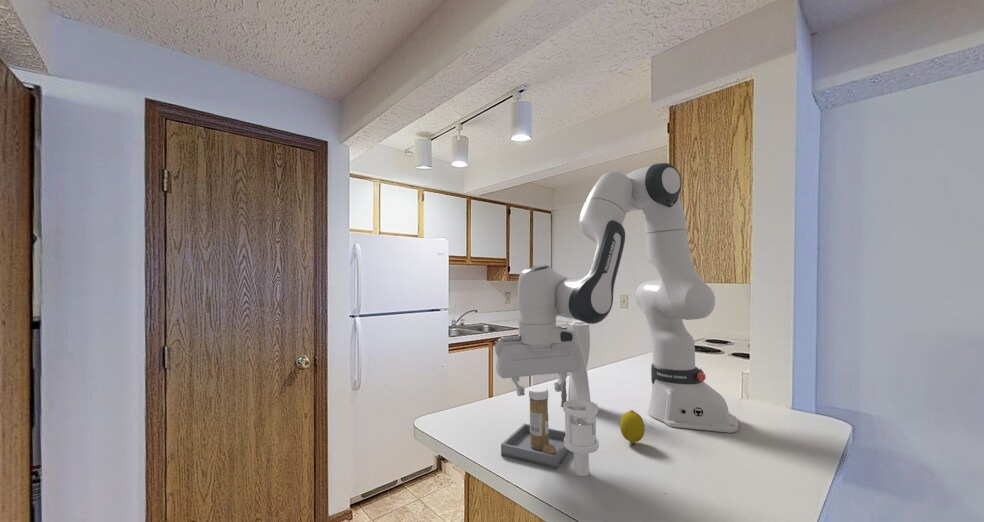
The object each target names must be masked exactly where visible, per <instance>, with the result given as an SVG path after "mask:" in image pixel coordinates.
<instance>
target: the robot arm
mask: <svg viewBox="0 0 984 522" xmlns="http://www.w3.org/2000/svg"><path fill="white" fill-rule="evenodd" d="M682 183H683V182H682V176H681V174H680V171H679V170H678V169H677V167H675V166H674V165H673V164H671V163H666V162H661V163H660V162H659V163H653V164H652V165H649V166H644V167H641V168H637V169H634V170H633V171H631V172H629V173H626V174H625V173H623V172H620V171H608V172H605V173H604V174H602V175H601V176H600V177H599V178H598V180H597V181H596V182H595V184H594V185H593V187H592V189H591V190H590V192H589V194H588V196H587V197H586V199H585V201H584V204H583V206H582V208H581V211H580V214H579V218H578V225H579V229H580V230H581V231H580V232H582V234H583V235H584V236H585V237H587V238H588V239H589V240H591V241H592V242H594V243H595V244H596V249H595V252H594V256H593V261H592V263H591V266H590V269H589V273H587V275H586V276H584V277H582V278H568V277H566V276H564V275H562V274H559V273H557V271H555V270H553V269H552V267H551V266H550V265H543V264H542V265H536V266H530V267H527V268H525V269H523V270H522V271H521V272H520V274H519V277H518V280H517V281H518V282H517V305H518V309H519V318H518V335H513V336H502V337H500V338H499V339H497V340H496V342H495V344H494V348H495V349H494V351H495V355H496V362H495V363H496V366H495V367H496V369H495V370H496V373H497V375H498V376H499V377H500V378H501V379H511V381H512V382H513V384H514V386H515V388H516V395H517V396H518V397H521V396H522V397H523V396H525V394H526V393H525V387H524V386H523V385H520V384H519V382H520V378H521V377H522V378H523V377H532V376H543V375H552V374H557V375H558V376H559V377H558V380H557V382H554V383H553V385H554V388H553V389H554V391H555V392H556V393H558V392H559V393H562V391H563V384H564V382H565V380H566V381H567V377H568V373H570V372H576V371H579V369H580V368H581V355H580V349H579V346H578V344H577V343H575V342H574V341H576V339H577V335H576V333H574V332H573V331H570V330H567V328H564V327H562V326H557V317H561V318H566V319H570V318H571V320H578V321H583V322H586V323H589V325H594V324H599V323H601V322H602V321H604V320H605V318H607V317H608V315H609V313H610V312H611V310H612V307H613V304H614V302H613V301H614V291H615V290H614V289H615V283H616V279H617V275H618V272H619V267H620V264H621V260H622V256H623V251H624V249H625V248H624V247H625V242H626V231H625V230H626V229H625V228H624V226H623V224H624V220H625V218H626V215H627V213H628V212H632V211H642V213H643V215H644V233H645V244H646V254H647V255H646V256H647V260H648V262H649V264H651V265H652V266H653V267H654V268H655V270H656V272H657V274H658V276H659V278H655V279H651V280H647V281H644V282H642V283H641V284H639V285H638V287H637V289H636V291H635V300H636V304H637V305H638V307H639V308H640V309H641V310H642V312H643V314H644V316H645V319H646V322H647V325H648V328H649V331H650V337H651V347H652V348H651V349H652V350H651V351H652V362H651V367H650V380H651V384H652V387H651V395H650V396H651V397H650V401H649V406H648V410H647V413H648V415H650V416H651V417H652V418H654V419H656V420H658V421H661V422H662V423H665V424H666V425H668V426H669V427H672V428H683V429H689V430H691V429H692V430H701V431H711V432H717V433H718V432H720V433H731V434H732V433H735V432H737V431H738V430H739V429H740V428H739V427H740V424H739V421H738V420H739V419H738V418H737V417H736V416H735V414H733V413H731V412H730V411H729V407H728V404H727V401H726V399H725V397H724V396H722V394H721V393H719V392H717V390H715V389H714V388H712V387H711V386H710V385H708V384H707V383H706V382H705V380H706V378H707V376H706V374H705V373H704V371H703V370H702V368H699V367H698V366H696V354H695V353H696V349H695V347H696V346H695V340H694V337H693V335H691V334H690V333H689V331H688V329H686V326H685V324H684V321H688V320H689V321H691V320H701V319H706V318H707V317H709V316H710V315H711V314H712V313H713V311H714V309H715V305H716V296H715V293H714V291H713V290H712V288H711V287H710V286H709V285H708V284H707V283H705V282H704V281H703V280H702V278H701V276H700V275H699V273H698V272H697V269H696V268H695V265H694V262H693V260H692V257H691V251H690V246H689V245H690V244H689V235H688V226H687V220H686V214H685V209H684V207H683V204H682V200H681V199H680V193H681V191H682V186H683V185H682ZM683 320H684V321H683Z"/></svg>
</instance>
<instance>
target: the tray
mask: <svg viewBox="0 0 984 522" xmlns="http://www.w3.org/2000/svg"><path fill="white" fill-rule="evenodd" d="M548 436H549V444H551V445H553V446H554V447H555V448H556V454H555V455H552V454H547V453H543V450H536V449H533V448H532V447H531V446H530V443H531V433H530V423H523V424H522V425H521V426H520V427H519V428H517V430H515V431H514V432H513V433H512V434H511V435H510V436H509V437H507V438H506V439H505V440H504V441H502V443H500V455H501V456H502V457H507V458H510V459H511V458H512V459H515V460H519V461H523V462H527V463H530V464H531V463H532V464H536V465H539V466H543V467H547V468H551V469H555V470H557V469H558V468H559V466H560V465H561V463H562V462H563V461H564V459H565V458H566V456H567V455H568V454H567V453H569V452H571V451H570V450H568V449H567V448H565V446H564V437H565V430H560V429H554V428H550V427H549V433H548Z"/></svg>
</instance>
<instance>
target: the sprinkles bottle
mask: <svg viewBox="0 0 984 522" xmlns="http://www.w3.org/2000/svg"><path fill="white" fill-rule="evenodd" d="M528 398H529V424H530V433H531V443H530V446H531V447H532V448H533V449H536V450H543V448H544V446H545V445H547V444H549V436H548V433H549V428H550V427H549V407H548V403H549V401H548V400H549V390H548V388H547V387H544V386H533V387H530V388H528Z"/></svg>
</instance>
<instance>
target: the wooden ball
mask: <svg viewBox="0 0 984 522" xmlns="http://www.w3.org/2000/svg"><path fill="white" fill-rule="evenodd" d="M543 453H547V454H552V455H555V454H556V448H555V447H554V446H553V445H551V444H547V445H545V446H544V448H543Z"/></svg>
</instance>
